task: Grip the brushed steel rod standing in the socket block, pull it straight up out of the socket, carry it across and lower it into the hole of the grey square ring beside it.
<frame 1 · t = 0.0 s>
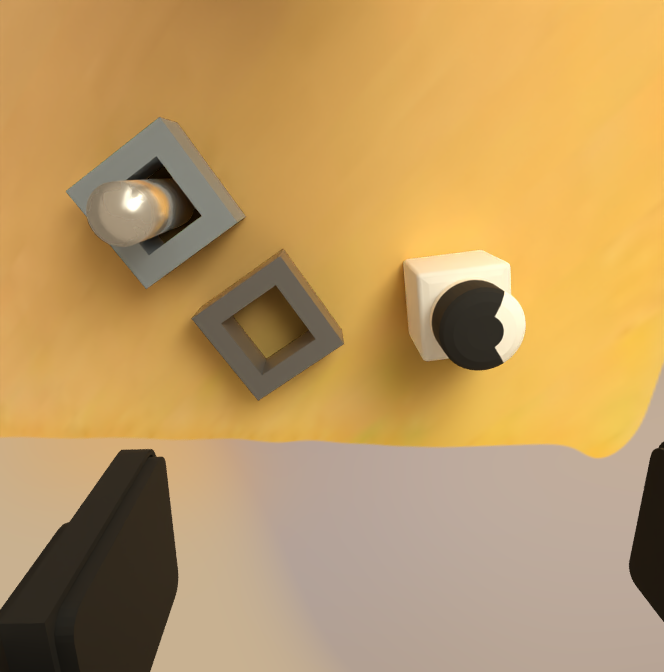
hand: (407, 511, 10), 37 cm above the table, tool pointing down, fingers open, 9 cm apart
steel rod: (148, 207, 38), in the socket block
socket block: (170, 202, 44), on the table
grey square ring: (272, 318, 47), on the table
medicine bottle: (444, 292, 47), on the table
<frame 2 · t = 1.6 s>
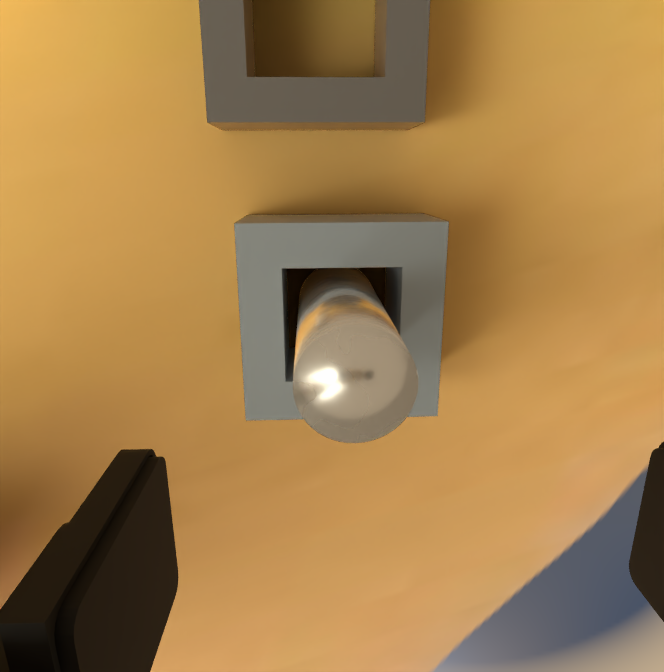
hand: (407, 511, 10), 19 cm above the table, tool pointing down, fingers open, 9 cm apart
steel rod: (343, 332, 22), in the socket block
socket block: (336, 300, 28), on the table
grey square ring: (314, 25, 24), on the table
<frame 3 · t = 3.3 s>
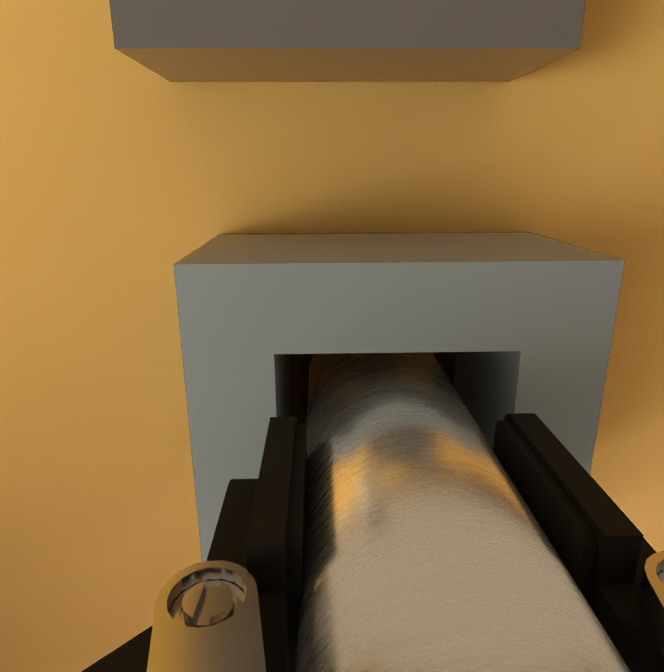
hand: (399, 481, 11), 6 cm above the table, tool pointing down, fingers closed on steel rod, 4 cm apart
steel rod: (400, 486, 11), in the socket block, touching gripper
socket block: (372, 377, 17), on the table
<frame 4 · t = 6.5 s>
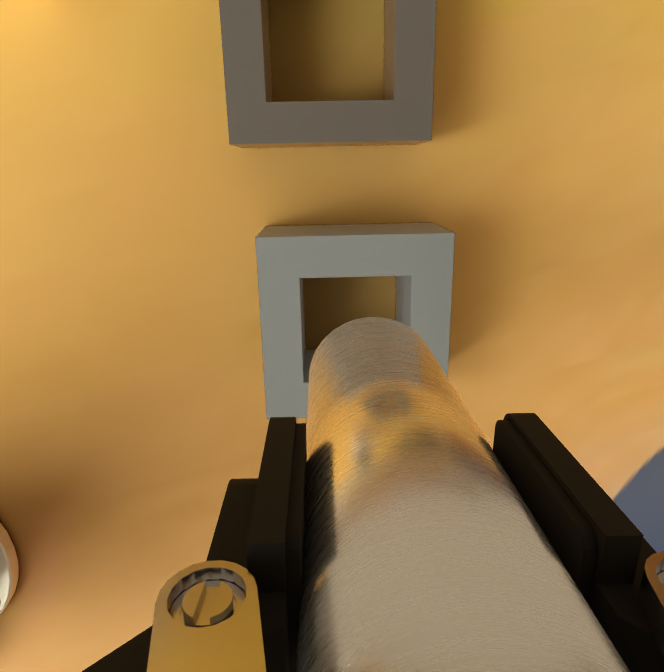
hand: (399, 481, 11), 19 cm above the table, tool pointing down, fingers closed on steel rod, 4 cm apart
steel rod: (400, 487, 11), point 20 cm above the table, touching gripper
socket block: (349, 304, 30), on the table
grey square ring: (327, 49, 26), on the table
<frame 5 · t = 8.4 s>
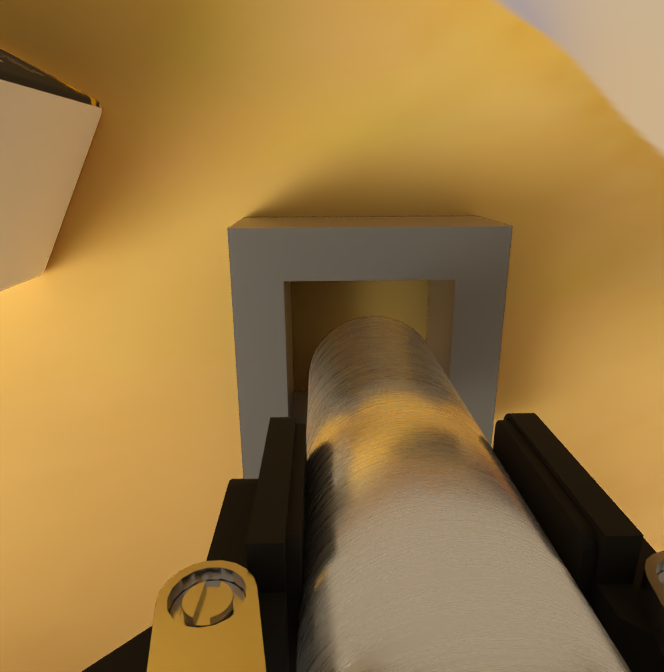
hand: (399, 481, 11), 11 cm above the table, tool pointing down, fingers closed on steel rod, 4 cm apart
steel rod: (400, 486, 11), point 11 cm above the table, touching gripper
grey square ring: (359, 327, 22), on the table
when the fingers open (7 cm above the table, at t = 9.7 s): steel rod stays where it is, resting in grey square ring.
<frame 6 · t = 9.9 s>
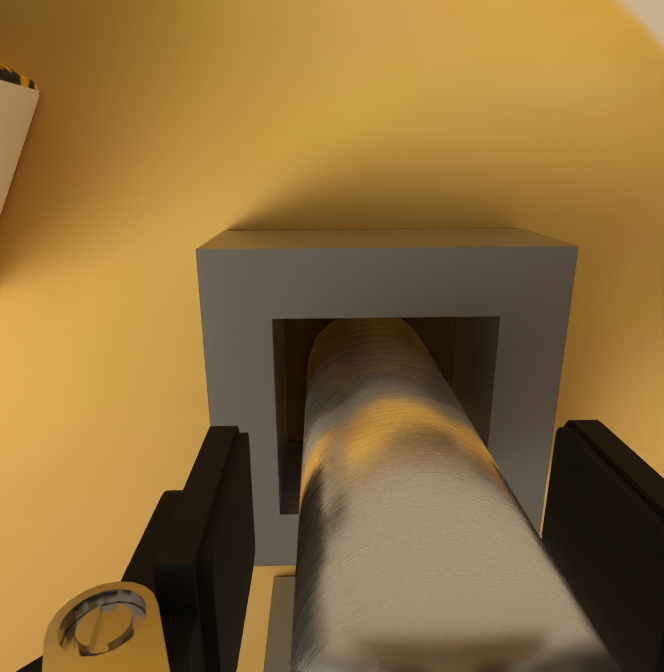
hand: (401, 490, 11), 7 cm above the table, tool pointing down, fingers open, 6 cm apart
steel rod: (391, 463, 12), in the grey square ring
socket block: (388, 664, 21), on the table
grey square ring: (369, 366, 18), on the table
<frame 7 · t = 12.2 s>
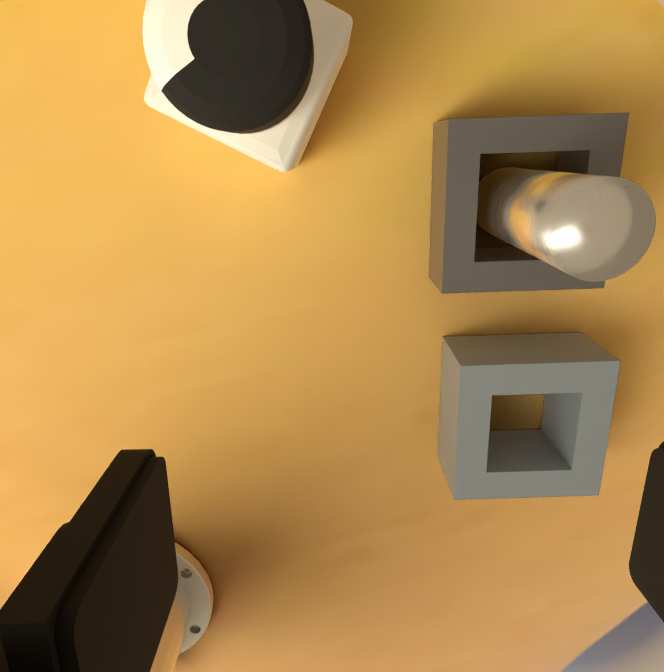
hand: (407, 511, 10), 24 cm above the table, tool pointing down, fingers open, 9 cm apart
steel rod: (543, 213, 26), in the grey square ring
socket block: (506, 396, 36), on the table
grey square ring: (506, 201, 32), on the table
medicine bottle: (264, 81, 30), on the table
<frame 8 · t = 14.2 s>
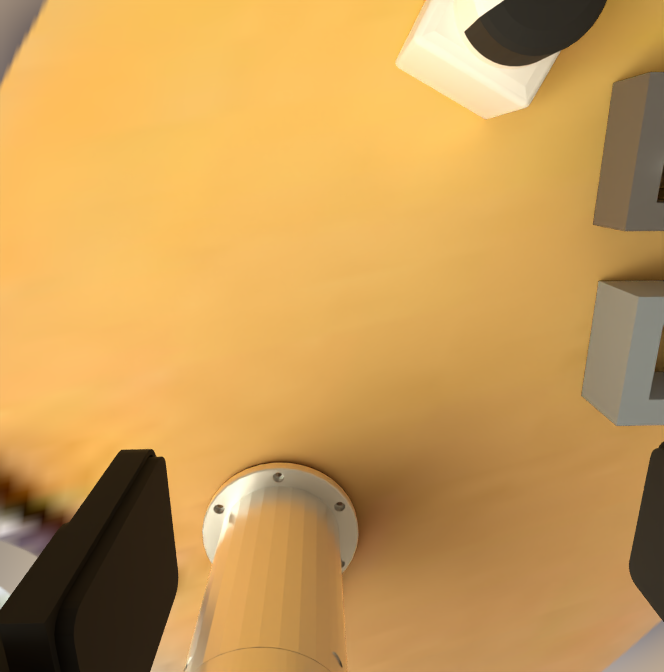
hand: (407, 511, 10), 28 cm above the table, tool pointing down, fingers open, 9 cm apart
socket block: (649, 339, 39), on the table
medicine bottle: (468, 40, 33), on the table
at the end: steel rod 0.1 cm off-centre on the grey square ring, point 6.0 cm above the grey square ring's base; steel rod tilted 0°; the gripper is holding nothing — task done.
